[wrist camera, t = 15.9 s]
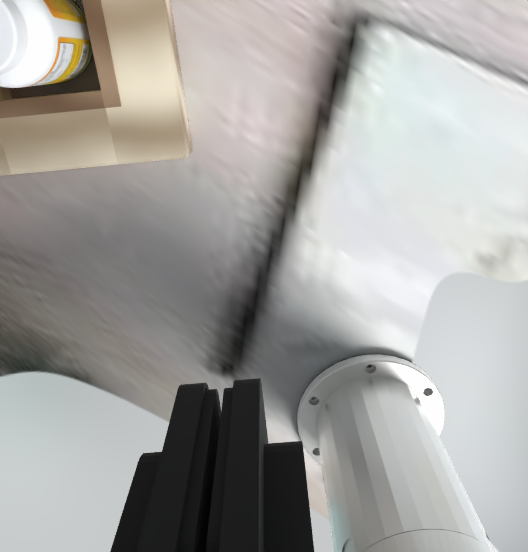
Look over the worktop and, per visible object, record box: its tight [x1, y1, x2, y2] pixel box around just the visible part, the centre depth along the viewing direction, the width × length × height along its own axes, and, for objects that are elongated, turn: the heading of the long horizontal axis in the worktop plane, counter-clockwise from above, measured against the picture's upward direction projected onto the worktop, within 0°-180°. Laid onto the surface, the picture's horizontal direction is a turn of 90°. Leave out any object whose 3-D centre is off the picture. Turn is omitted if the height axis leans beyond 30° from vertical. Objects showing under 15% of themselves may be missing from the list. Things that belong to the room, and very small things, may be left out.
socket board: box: [0, 0, 192, 176], centre depth 30 cm, size 16×16×3 cm
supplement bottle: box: [0, 0, 92, 88], centre depth 27 cm, size 5×5×10 cm
